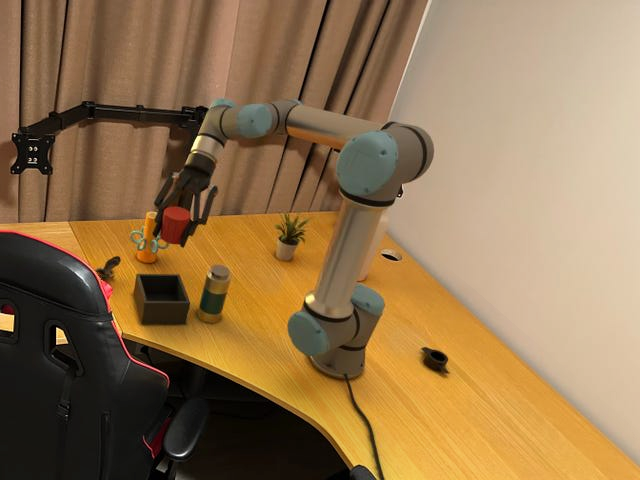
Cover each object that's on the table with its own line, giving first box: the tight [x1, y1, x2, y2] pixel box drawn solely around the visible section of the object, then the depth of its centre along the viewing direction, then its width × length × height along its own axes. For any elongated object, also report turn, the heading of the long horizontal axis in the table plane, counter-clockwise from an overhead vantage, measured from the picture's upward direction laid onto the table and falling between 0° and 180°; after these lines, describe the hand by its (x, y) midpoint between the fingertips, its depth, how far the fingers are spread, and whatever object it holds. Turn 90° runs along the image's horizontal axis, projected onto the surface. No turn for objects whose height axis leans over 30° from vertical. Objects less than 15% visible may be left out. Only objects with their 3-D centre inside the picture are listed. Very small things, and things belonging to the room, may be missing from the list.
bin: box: [133, 273, 191, 325], centre depth 176 cm, size 14×13×7 cm
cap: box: [160, 205, 192, 245], centre depth 161 cm, size 7×7×7 cm
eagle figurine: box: [94, 255, 122, 282], centre depth 184 cm, size 8×7×9 cm
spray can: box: [197, 264, 232, 324], centre depth 175 cm, size 7×7×16 cm
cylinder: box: [129, 211, 170, 264], centre depth 193 cm, size 12×10×15 cm
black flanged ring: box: [420, 346, 451, 375], centre depth 178 cm, size 8×10×3 cm
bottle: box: [357, 208, 389, 282], centre depth 199 cm, size 8×8×30 cm
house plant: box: [272, 208, 315, 262], centre depth 205 cm, size 14×14×16 cm
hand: (168, 240), depth 160 cm, fingers closed on cap, 7 cm apart
